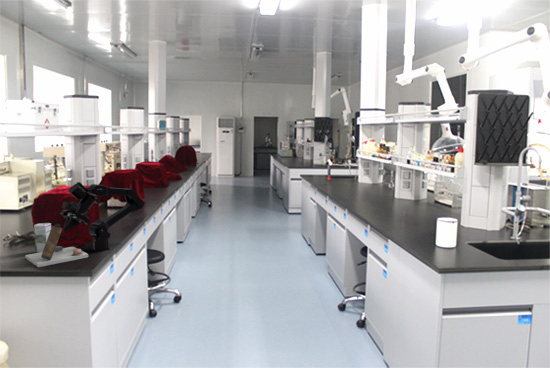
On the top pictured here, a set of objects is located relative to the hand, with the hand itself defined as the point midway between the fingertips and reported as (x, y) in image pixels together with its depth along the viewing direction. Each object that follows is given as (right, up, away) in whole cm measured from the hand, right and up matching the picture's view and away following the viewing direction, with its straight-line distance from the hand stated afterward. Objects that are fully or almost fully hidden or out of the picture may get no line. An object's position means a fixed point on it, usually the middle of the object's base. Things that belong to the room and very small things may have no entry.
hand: (63, 231), depth 196 cm
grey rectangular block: (-7, -10, +8) cm, 14 cm away
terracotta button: (+6, -11, +2) cm, 13 cm away
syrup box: (-16, -12, +13) cm, 24 cm away
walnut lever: (-5, -12, -6) cm, 14 cm away
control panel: (-4, -13, +2) cm, 14 cm away
